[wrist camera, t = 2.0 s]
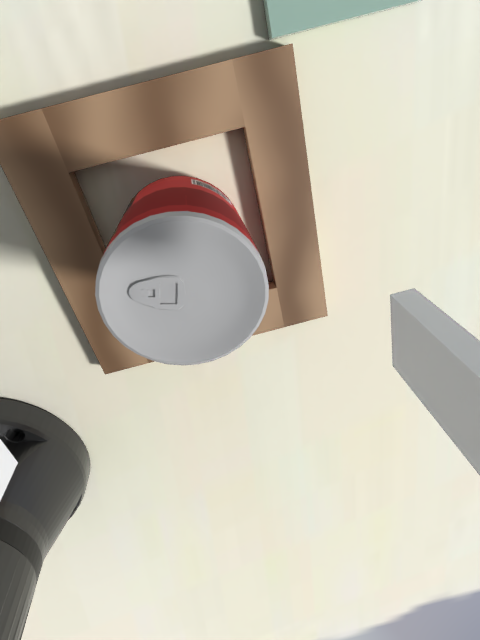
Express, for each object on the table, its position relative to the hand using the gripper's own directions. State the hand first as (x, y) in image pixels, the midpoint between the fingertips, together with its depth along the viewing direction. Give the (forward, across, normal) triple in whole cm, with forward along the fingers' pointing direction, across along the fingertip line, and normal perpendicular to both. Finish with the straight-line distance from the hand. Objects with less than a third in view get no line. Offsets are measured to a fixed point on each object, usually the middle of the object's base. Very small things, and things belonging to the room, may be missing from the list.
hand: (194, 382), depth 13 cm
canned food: (+18, 0, 0) cm, 18 cm away
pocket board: (+17, 0, 0) cm, 17 cm away
